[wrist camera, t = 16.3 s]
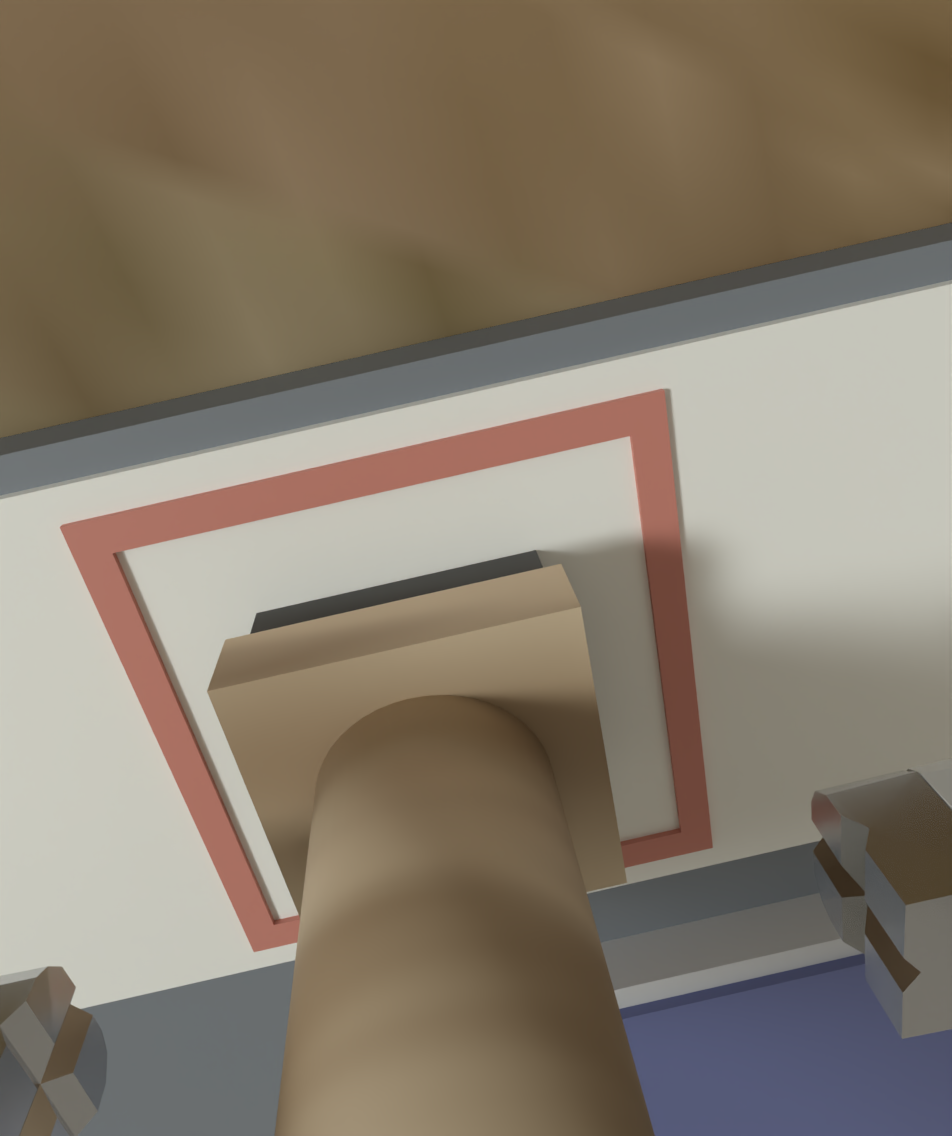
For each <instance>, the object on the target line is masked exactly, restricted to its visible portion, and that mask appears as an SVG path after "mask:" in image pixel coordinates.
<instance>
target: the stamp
mask: <svg viewBox="0 0 952 1136" xmlns="http://www.w3.org/2000/svg"><path fill="white" fill-rule="evenodd" d="M207 693H208V695H209V698H210V700H211V703H212V705H213V708H214V710H215V712H216V715H217V717H218V720H219V722H220V725H221V727H222V729H223V732H224V734H225V737H226V739H227V742H228V744H229V746H230V749H231V751H232V754H233V756H234V759H235V761H236V763H237V766H238V768H239V771H240V773H241V776H242V778H243V781H244V783H245V785H246V788H247V790H248V793H249V795H250V798H251V800H252V802H253V805H254V807H255V810H256V812H257V815H258V817H259V819H260V822H261V824H262V827H263V829H264V832H265V834H266V836H267V839H268V841H269V844H270V846H271V849H272V851H273V854H274V856H275V858H276V861H277V863H278V866H279V868H280V871H281V873H282V875H283V878H284V880H285V883H286V885H287V888H288V890H289V892H290V895H291V897H292V900H293V902H294V905H295V907H296V909H297V912H298V914H299V917H300V924H299V932H298V940H297V949H296V957H295V966H294V974H293V983H292V991H291V1000H290V1008H289V1017H288V1025H287V1034H286V1042H285V1051H284V1059H283V1068H282V1076H281V1084H280V1093H279V1101H278V1110H277V1118H276V1127H275V1135H274V1136H655V1134H654V1131H653V1127H652V1124H651V1120H650V1117H649V1113H648V1110H647V1106H646V1102H645V1099H644V1095H643V1092H642V1088H641V1085H640V1081H639V1077H638V1074H637V1070H636V1067H635V1063H634V1060H633V1056H632V1053H631V1049H630V1045H629V1042H628V1038H627V1035H626V1031H625V1028H624V1024H623V1020H622V1017H621V1013H620V1010H619V1006H618V1003H617V999H616V996H615V992H614V988H613V985H612V981H611V978H610V974H609V971H608V967H607V963H606V960H605V956H604V953H603V949H602V946H601V942H600V939H599V935H598V931H597V928H596V924H595V921H594V917H593V914H592V910H591V907H590V903H589V899H588V896H587V892H589V891H593V890H598V889H602V888H606V887H611V886H615V885H620V884H624V883H627V878H626V872H625V866H624V860H623V855H622V849H621V843H620V837H619V831H618V825H617V819H616V813H615V807H614V801H613V795H612V789H611V783H610V777H609V771H608V765H607V759H606V753H605V747H604V741H603V736H602V730H601V724H600V718H599V712H598V706H597V700H596V694H595V688H594V682H593V676H592V670H591V664H590V658H589V652H588V646H587V640H586V634H585V628H584V622H583V617H582V611H581V606H580V604H579V602H578V599H577V597H576V595H575V593H574V591H573V588H572V586H571V584H570V582H569V580H568V577H567V575H566V573H565V571H564V569H563V567H562V564H557V565H553V566H548V567H544V568H543V566H542V564H541V561H540V559H539V556H538V554H537V551H536V550H533V551H529V552H524V553H520V554H516V555H511V556H507V557H502V558H498V559H494V560H489V561H485V562H480V563H476V564H471V565H467V566H463V567H458V568H454V569H449V570H445V571H440V572H436V573H432V574H427V575H423V576H418V577H414V578H410V579H405V580H401V581H396V582H392V583H387V584H383V585H379V586H374V587H370V588H365V589H361V590H356V591H352V592H348V593H343V594H339V595H334V596H330V597H326V598H321V599H317V600H312V601H308V602H303V603H299V604H295V605H290V606H286V607H281V608H277V609H272V610H268V611H264V612H259V613H256V616H255V619H254V623H253V626H252V629H251V633H250V634H248V635H243V636H239V637H235V638H230V639H226V640H225V642H224V644H223V647H222V650H221V653H220V656H219V658H218V661H217V664H216V667H215V670H214V673H213V675H212V678H211V681H210V684H209V687H208V690H207Z"/></svg>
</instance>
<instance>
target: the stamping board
mask: <svg viewBox="0 0 952 1136" xmlns="http://www.w3.org/2000/svg"><path fill="white" fill-rule="evenodd" d="M533 550H536V551H537V554H538V556H539V559H540V561H541V564H542V566H543V568H544V567H548V566H553V565H557V564H562V567H563V569H564V571H565V573H566V575H567V577H568V580H569V582H570V584H571V586H572V588H573V591H574V593H575V595H576V597H577V599H578V602H579V604H580V606H581V611H582V617H583V622H584V628H585V634H586V640H587V646H588V652H589V658H590V664H591V670H592V676H593V682H594V688H595V694H596V700H597V706H598V712H599V718H600V724H601V730H602V736H603V741H604V747H605V753H606V759H607V765H608V771H609V777H610V783H611V789H612V795H613V801H614V807H615V813H616V819H617V825H618V831H619V837H620V843H621V849H622V855H623V860H624V866H625V872H626V878H627V883H624V884H620V885H615V886H611V887H606V888H602V889H598V890H593V891H589V892H587V896H588V899H589V903H590V907H591V910H592V914H593V917H594V921H595V924H596V928H597V931H598V935H599V939H600V942H601V946H602V949H603V953H604V956H605V960H606V963H607V967H608V971H609V974H610V978H611V981H612V985H613V988H614V992H615V996H616V999H617V1003H618V1006H619V1010H620V1013H621V1017H622V1020H623V1024H624V1028H625V1031H626V1035H627V1038H628V1042H629V1045H630V1049H631V1053H632V1056H633V1060H634V1063H635V1067H636V1070H637V1074H638V1077H639V1081H640V1085H641V1088H642V1092H643V1095H644V1099H645V1102H646V1106H647V1110H648V1113H649V1117H650V1120H651V1124H652V1127H653V1131H654V1134H655V1136H952V1029H950V1030H945V1031H940V1032H935V1033H930V1034H925V1035H920V1036H915V1037H909V1038H904V1039H902V1038H901V1037H900V1035H899V1033H898V1032H897V1030H896V1029H895V1027H894V1025H893V1024H892V1022H891V1020H890V1019H889V1017H888V1015H887V1014H886V1012H885V1011H884V1009H883V1007H882V1006H881V1004H880V1002H879V1001H878V999H877V997H876V996H875V994H874V993H873V991H872V989H871V988H870V986H869V984H868V983H867V981H866V979H865V954H863V953H862V952H860V951H858V950H856V949H855V948H853V947H851V946H849V945H848V944H846V943H844V942H843V941H842V939H841V938H840V936H839V934H838V932H837V931H836V929H835V927H834V926H833V924H832V922H831V920H830V918H829V916H828V914H827V911H826V909H825V907H824V905H823V903H822V900H821V897H820V893H819V889H818V886H817V882H816V879H815V875H814V862H813V850H814V849H815V847H816V846H817V845H818V843H819V842H820V840H821V839H822V835H821V834H820V832H819V830H818V829H817V827H816V826H815V824H814V823H813V821H812V818H811V801H812V798H813V795H814V792H815V791H817V790H822V789H826V788H830V787H834V786H838V785H843V784H847V783H851V782H855V781H859V780H864V779H868V778H872V777H876V776H880V775H885V774H889V773H893V772H897V771H901V770H904V771H906V770H908V769H909V768H913V767H918V766H922V765H926V764H930V763H934V762H939V761H943V760H947V759H951V758H952V223H949V224H944V225H940V226H936V227H931V228H927V229H922V230H918V231H913V232H909V233H905V234H900V235H896V236H891V237H887V238H883V239H878V240H874V241H869V242H865V243H860V244H856V245H852V246H847V247H843V248H838V249H834V250H830V251H825V252H821V253H816V254H812V255H807V256H803V257H799V258H794V259H790V260H785V261H781V262H777V263H772V264H768V265H763V266H759V267H755V268H750V269H746V270H741V271H737V272H732V273H728V274H724V275H719V276H715V277H710V278H706V279H702V280H697V281H693V282H688V283H684V284H679V285H675V286H671V287H666V288H662V289H657V290H653V291H649V292H644V293H640V294H635V295H631V296H626V297H622V298H618V299H613V300H609V301H604V302H600V303H596V304H591V305H587V306H582V307H578V308H574V309H569V310H565V311H560V312H556V313H551V314H547V315H543V316H538V317H534V318H529V319H525V320H521V321H516V322H512V323H507V324H503V325H498V326H494V327H490V328H485V329H481V330H476V331H472V332H468V333H463V334H459V335H454V336H450V337H445V338H441V339H437V340H432V341H428V342H423V343H419V344H415V345H410V346H406V347H401V348H397V349H393V350H388V351H384V352H379V353H375V354H370V355H366V356H362V357H357V358H353V359H348V360H344V361H340V362H335V363H331V364H326V365H322V366H317V367H313V368H309V369H304V370H300V371H295V372H291V373H287V374H282V375H278V376H273V377H269V378H264V379H260V380H256V381H251V382H247V383H242V384H238V385H234V386H229V387H225V388H220V389H216V390H212V391H207V392H203V393H198V394H194V395H189V396H185V397H181V398H176V399H172V400H167V401H163V402H159V403H154V404H150V405H145V406H141V407H136V408H132V409H128V410H123V411H119V412H114V413H110V414H106V415H101V416H97V417H92V418H88V419H83V420H79V421H75V422H70V423H66V424H61V425H57V426H53V427H48V428H44V429H39V430H35V431H31V432H26V433H22V434H17V435H13V436H8V437H4V438H0V976H2V975H7V974H12V973H17V972H22V971H27V970H32V969H37V968H42V967H47V966H60V967H63V969H64V970H65V972H66V973H67V975H68V976H69V978H70V979H71V981H72V982H73V983H74V985H75V986H76V989H75V992H74V995H73V998H72V1001H71V1003H70V1004H71V1005H73V1006H75V1007H77V1008H79V1009H81V1010H83V1011H86V1012H88V1013H90V1014H92V1015H93V1016H94V1018H95V1019H96V1021H97V1023H98V1025H99V1026H100V1028H101V1030H102V1032H103V1036H104V1040H105V1044H106V1048H107V1074H106V1085H105V1088H104V1092H103V1095H102V1099H101V1102H100V1106H99V1109H98V1112H97V1113H96V1114H95V1115H94V1117H93V1118H92V1119H91V1120H90V1121H89V1122H88V1124H87V1125H86V1126H85V1127H84V1128H83V1130H82V1131H81V1132H80V1133H79V1134H78V1136H274V1135H275V1127H276V1118H277V1110H278V1101H279V1093H280V1084H281V1076H282V1068H283V1059H284V1051H285V1042H286V1034H287V1025H288V1017H289V1008H290V1000H291V991H292V983H293V974H294V966H295V957H296V949H297V940H298V932H299V924H300V917H299V914H298V912H297V909H296V907H295V905H294V902H293V900H292V897H291V895H290V892H289V890H288V888H287V885H286V883H285V880H284V878H283V875H282V873H281V871H280V868H279V866H278V863H277V861H276V858H275V856H274V854H273V851H272V849H271V846H270V844H269V841H268V839H267V836H266V834H265V832H264V829H263V827H262V824H261V822H260V819H259V817H258V815H257V812H256V810H255V807H254V805H253V802H252V800H251V798H250V795H249V793H248V790H247V788H246V785H245V783H244V781H243V778H242V776H241V773H240V771H239V768H238V766H237V763H236V761H235V759H234V756H233V754H232V751H231V749H230V746H229V744H228V742H227V739H226V737H225V734H224V732H223V729H222V727H221V725H220V722H219V720H218V717H217V715H216V712H215V710H214V708H213V705H212V703H211V700H210V698H209V695H208V693H207V690H208V687H209V684H210V681H211V678H212V675H213V673H214V670H215V667H216V664H217V661H218V658H219V656H220V653H221V650H222V647H223V644H224V642H225V640H226V639H230V638H235V637H239V636H243V635H248V634H250V633H251V629H252V626H253V623H254V619H255V616H256V613H259V612H264V611H268V610H272V609H277V608H281V607H286V606H290V605H295V604H299V603H303V602H308V601H312V600H317V599H321V598H326V597H330V596H334V595H339V594H343V593H348V592H352V591H356V590H361V589H365V588H370V587H374V586H379V585H383V584H387V583H392V582H396V581H401V580H405V579H410V578H414V577H418V576H423V575H427V574H432V573H436V572H440V571H445V570H449V569H454V568H458V567H463V566H467V565H471V564H476V563H480V562H485V561H489V560H494V559H498V558H502V557H507V556H511V555H516V554H520V553H524V552H529V551H533Z"/></svg>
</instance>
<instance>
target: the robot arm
mask: <svg viewBox="0 0 952 1136" xmlns="http://www.w3.org/2000/svg"><path fill="white" fill-rule="evenodd" d="M811 818H812V821H813V823H814V824H815V826H816V827H817V829H818V830H819V832H820V834H821V835H822V839H821V840H820V842H819V843H818V845H817V846H816V847H815V849H814V850H813V862H814V875H815V879H816V882H817V886H818V889H819V893H820V897H821V900H822V903H823V905H824V907H825V909H826V911H827V914H828V916H829V918H830V920H831V922H832V924H833V926H834V927H835V929H836V931H837V932H838V934H839V936H840V938H841V939H842V941H843V942H844V943H846V944H848V945H849V946H851V947H853V948H855V949H856V950H858V951H860V952H862V953H863V954H865V979H866V981H867V983H868V984H869V986H870V988H871V989H872V991H873V993H874V994H875V996H876V997H877V999H878V1001H879V1002H880V1004H881V1006H882V1007H883V1009H884V1011H885V1012H886V1014H887V1015H888V1017H889V1019H890V1020H891V1022H892V1024H893V1025H894V1027H895V1029H896V1030H897V1032H898V1033H899V1035H900V1037H901V1038H902V1039H904V1038H909V1037H915V1036H920V1035H925V1034H930V1033H935V1032H940V1031H945V1030H950V1029H952V758H951V759H947V760H943V761H939V762H934V763H930V764H926V765H922V766H918V767H913V768H909V769H908V770H906V771H904V770H901V771H897V772H893V773H889V774H885V775H880V776H876V777H872V778H868V779H864V780H859V781H855V782H851V783H847V784H843V785H838V786H834V787H830V788H826V789H822V790H817V791H815V792H814V795H813V798H812V801H811ZM75 989H76V986H75V985H74V983H73V982H72V981H71V979H70V978H69V976H68V975H67V973H66V972H65V970H64V969H63V967H60V966H47V967H42V968H37V969H32V970H27V971H22V972H17V973H12V974H7V975H2V976H0V1136H78V1134H79V1133H80V1132H81V1131H82V1130H83V1128H84V1127H85V1126H86V1125H87V1124H88V1122H89V1121H90V1120H91V1119H92V1118H93V1117H94V1115H95V1114H96V1113H97V1112H98V1109H99V1106H100V1102H101V1099H102V1095H103V1092H104V1088H105V1085H106V1074H107V1048H106V1044H105V1040H104V1036H103V1032H102V1030H101V1028H100V1026H99V1025H98V1023H97V1021H96V1019H95V1018H94V1016H93V1015H92V1014H90V1013H88V1012H86V1011H83V1010H81V1009H79V1008H77V1007H75V1006H73V1005H71V1004H70V1003H71V1001H72V998H73V995H74V992H75Z"/></svg>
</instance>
